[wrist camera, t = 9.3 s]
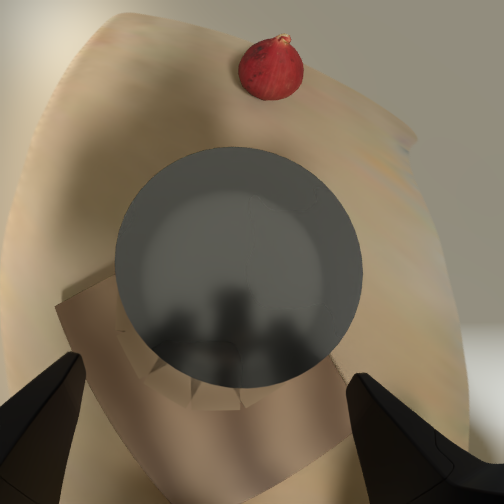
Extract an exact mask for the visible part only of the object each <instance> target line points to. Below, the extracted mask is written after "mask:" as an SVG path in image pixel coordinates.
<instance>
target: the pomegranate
mask: <svg viewBox="0 0 504 504" xmlns="http://www.w3.org/2000/svg"><path fill="white" fill-rule="evenodd" d="M290 42H291V38H290V35H287V34H281V35H278V36H276V37H274V38H271V39H266V40H263V41H260V42H258V43H256V44H254V45H252V46H251V47H250V48H249V49H248V50H247V51H246V53H245V54H244V56H243V57H242V59H241V61H240V64H239V69H238V74H239V78H240V81H241V84H242V86H243V87H244V88H245V89H246V90H247V91H248V92H249V93H250V94H252V95H253V96H255V97H257V98H259V99H262V100H280V99H283V98H287V97H288V96H290V95H291V94H293V93H294V92H295V91H296V90H297V89H298V88H299V86H300V85H301V83H302V79H303V72H304V68H303V62H302V60H301V58H300V56H299V54H298V52H297V51H296V50H295V48H293V47H292V46H291V45H290Z"/></svg>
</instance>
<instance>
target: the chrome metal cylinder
mask: <svg viewBox="0 0 504 504" xmlns="http://www.w3.org/2000/svg"><path fill="white" fill-rule="evenodd" d="M115 273H116V282H117V287H118V291H119V295H120V299H121V302H122V304H123V307H124V309H125V312H126V314H127V316H128V318H129V320H130V322H131V323H132V325H133V327H134V329H135V330H136V332H137V333H138V334H139V336H140V337H141V338H142V340H143V341H144V342H145V343H146V345H147V346H148V347H149V348H150V349H151V350H152V351H153V352H154V353H155V354H157V355H158V356H159V357H160V358H161V359H162V360H163V361H165V362H166V363H168V364H169V365H170V366H172V367H173V368H175V369H176V370H178V371H180V372H182V373H184V374H186V375H188V376H190V377H192V378H194V379H197V380H200V381H202V382H205V383H208V384H212V385H217V386H222V387H228V388H246V389H249V388H259V387H267V386H271V385H275V384H279V383H282V382H285V381H288V380H290V379H292V378H295V377H297V376H299V375H301V374H303V373H305V372H306V371H308V370H310V369H311V368H313V367H314V366H316V365H317V364H318V363H319V362H321V361H322V360H323V359H324V358H325V357H327V356H328V355H329V354H330V352H331V351H332V350H333V349H334V348H335V347H336V346H337V345H338V343H339V342H340V341H341V339H342V338H343V336H344V335H345V333H346V332H347V330H348V328H349V326H350V324H351V322H352V320H353V318H354V316H355V313H356V310H357V307H358V304H359V300H360V295H361V289H362V278H363V268H362V256H361V251H360V246H359V242H358V239H357V235H356V232H355V229H354V227H353V225H352V223H351V220H350V218H349V216H348V214H347V213H346V211H345V209H344V208H343V206H342V204H341V203H340V202H339V200H338V199H337V198H336V196H335V195H334V194H333V193H332V192H331V191H330V189H329V188H328V187H327V186H326V185H325V184H324V183H323V182H322V181H320V180H319V179H318V178H317V177H316V176H315V175H313V174H312V173H311V172H309V171H308V170H306V169H305V168H303V167H302V166H300V165H298V164H297V163H295V162H293V161H291V160H289V159H287V158H284V157H282V156H279V155H277V154H274V153H270V152H267V151H263V150H259V149H252V148H245V147H223V148H214V149H209V150H204V151H200V152H197V153H194V154H191V155H188V156H186V157H184V158H181V159H179V160H177V161H175V162H173V163H172V164H170V165H169V166H167V167H165V168H164V169H162V170H161V171H160V172H159V173H157V174H156V175H155V176H154V177H153V178H151V179H150V180H149V181H148V183H147V184H146V185H145V186H144V187H143V188H142V189H141V190H140V191H139V193H138V194H137V196H136V197H135V198H134V200H133V201H132V203H131V205H130V207H129V208H128V210H127V212H126V214H125V216H124V219H123V222H122V224H121V227H120V230H119V234H118V239H117V244H116V252H115Z"/></svg>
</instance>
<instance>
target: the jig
mask: <svg viewBox="0 0 504 504" xmlns="http://www.w3.org/2000/svg"><path fill="white" fill-rule="evenodd" d="M55 309H56V312H57V315H58V317H59V320H60V322H61V325H62V328H63V330H64V332H65V335H66V337H67V340H68V342H69V344H70V347H71V349H72V351H73V352H76V353H79V354H81V356H82V359H83V362H84V366H85V369H86V380H87V382H88V384H89V386H90V388H91V390H92V392H93V393H94V395H95V397H96V399H97V401H98V402H99V404H100V406H101V408H102V409H103V411H104V413H105V414H106V416H107V418H108V419H109V421H110V423H111V424H112V426H113V427H114V429H115V431H116V432H117V434H118V435H119V437H120V438H121V440H122V441H123V443H124V444H125V446H126V447H127V449H128V450H129V451H130V453H131V454H132V456H133V457H134V458H135V460H136V461H137V462H138V464H139V465H140V466H141V468H142V469H143V470H144V472H145V473H146V474H147V476H148V477H149V478H150V479H151V481H152V482H153V483H154V484H155V485H156V487H157V488H158V489H159V490H160V491H161V493H162V494H163V495H164V496H165V497H166V498H167V499H168V501H169V502H170V503H171V504H241V503H243V502H245V501H247V500H249V499H251V498H253V497H255V496H257V495H259V494H261V493H263V492H264V491H266V490H268V489H270V488H272V487H273V486H275V485H277V484H279V483H280V482H282V481H284V480H285V479H287V478H289V477H290V476H292V475H294V474H295V473H297V472H298V471H300V470H301V469H303V468H304V467H306V466H308V465H309V464H311V463H312V462H313V461H315V460H316V459H318V458H319V457H321V456H322V455H324V454H325V453H326V452H328V451H329V450H330V449H332V448H333V447H335V446H336V445H337V444H339V443H340V442H341V441H342V440H344V439H345V438H346V437H348V436H349V435H350V434H351V433H352V430H351V424H350V418H349V412H348V405H347V399H346V388H347V386H346V384H345V383H344V381H343V379H342V377H341V376H340V374H339V372H338V371H337V369H336V367H335V366H334V364H333V362H332V360H331V359H330V357H329V355H328V356H327V357H325V358H324V359H323V360H322V361H321V362H319V363H318V364H317V365H316V366H314V367H313V368H311V369H310V370H308V371H306V372H305V373H303V374H301V375H299V376H297V377H295V378H292V379H290V380H288V381H285V382H282V383H279V384H275V385H271V386H267V387H259V388H249V389H246V388H228V387H222V386H217V385H212V384H208V383H205V382H202V381H200V380H197V379H194V378H192V377H190V376H188V375H186V374H184V373H182V372H180V371H178V370H176V369H175V368H173V367H172V366H170V365H169V364H168V363H166V362H165V361H163V360H162V359H161V358H160V357H159V356H158V355H157V354H155V353H154V352H153V351H152V350H151V349H150V348H149V347H148V346H147V345H146V343H145V342H144V341H143V340H142V338H141V337H140V336H139V334H138V333H137V332H136V330H135V329H134V327H133V325H132V323H131V322H130V320H129V318H128V316H127V314H126V312H125V309H124V307H123V304H122V302H121V299H120V295H119V291H118V287H117V282H116V274H114V275H112V276H110V277H108V278H106V279H104V280H103V281H101V282H99V283H97V284H95V285H93V286H91V287H89V288H87V289H86V290H84V291H82V292H80V293H78V294H76V295H75V296H73V297H71V298H69V299H67V300H65V301H64V302H62V303H60V304H58V305H56V306H55Z"/></svg>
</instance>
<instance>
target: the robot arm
mask: <svg viewBox="0 0 504 504" xmlns="http://www.w3.org/2000/svg"><path fill="white" fill-rule="evenodd" d="M85 380H86V369H85V366H84V362H83V359H82V356H81V354H79V353H76V352H71V351H70V352H67V353H66V354H65V355H63V356H62V357H61V358H60V359H58V360H57V361H56V362H54V363H53V364H52V365H51V366H49V367H48V368H47V369H46V370H44V371H43V372H42V373H41V374H39V375H38V376H37V377H36V378H34V379H33V380H32V381H31V382H30V383H28V384H27V385H26V386H25V387H23V388H22V389H21V390H20V391H18V392H17V393H16V394H15V395H14V396H12V397H11V398H10V399H9V400H8V401H6V402H5V403H4V404H3V405H2V406H0V504H59V501H60V495H61V489H62V484H63V479H64V474H65V469H66V465H67V460H68V456H69V452H70V448H71V444H72V440H73V436H74V432H75V428H76V425H77V421H78V417H79V412H80V407H81V401H82V395H83V390H84V385H85ZM346 399H347V405H348V412H349V418H350V424H351V430H352V434H353V438H354V441H355V445H356V449H357V453H358V456H359V460H360V464H361V468H362V472H363V476H364V480H365V484H366V488H367V492H368V497H369V501H370V504H504V464H491V463H486V462H483V461H481V460H479V459H478V458H476V457H475V456H473V455H471V454H470V453H468V452H467V451H465V450H463V449H462V448H460V447H459V446H457V445H456V444H454V443H453V442H451V441H450V440H449V439H447V438H446V437H445V436H443V435H442V434H441V433H440V432H438V431H437V430H436V429H434V428H433V427H432V426H431V425H430V424H428V423H427V422H426V421H425V420H423V419H422V418H421V417H420V416H418V415H417V414H416V413H415V412H414V411H412V410H411V409H410V408H409V407H407V406H406V405H405V404H404V403H402V402H401V401H400V400H399V399H398V398H396V397H395V396H394V395H393V394H392V393H390V392H389V391H388V390H387V389H385V388H384V387H383V386H382V385H381V384H379V383H378V382H377V381H376V380H375V379H373V378H372V377H371V376H370V375H369V374H367V373H356V374H355V375H354V376H353V377H352V379H351V381H350V383H349V384H348V386H347V388H346Z"/></svg>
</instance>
